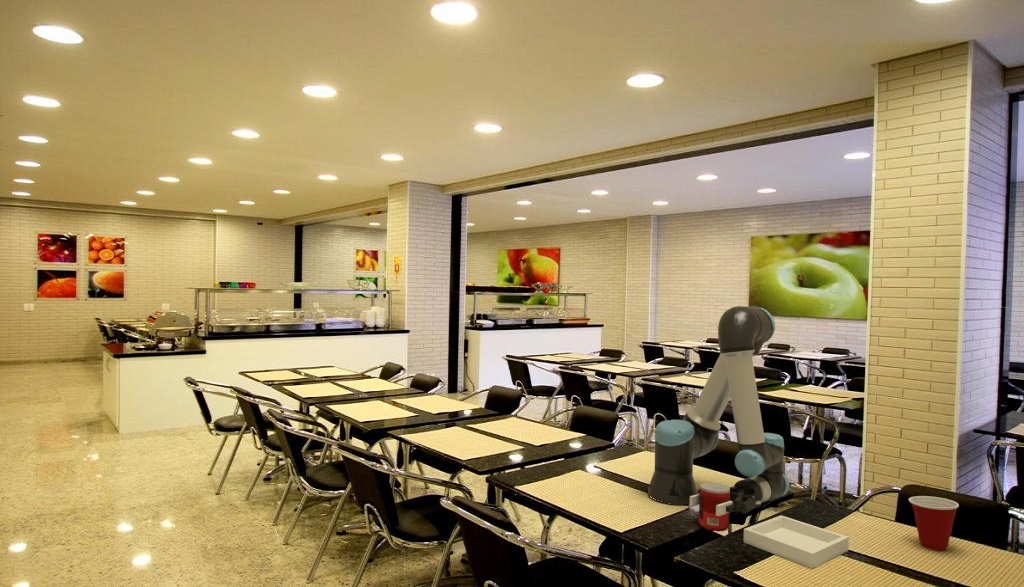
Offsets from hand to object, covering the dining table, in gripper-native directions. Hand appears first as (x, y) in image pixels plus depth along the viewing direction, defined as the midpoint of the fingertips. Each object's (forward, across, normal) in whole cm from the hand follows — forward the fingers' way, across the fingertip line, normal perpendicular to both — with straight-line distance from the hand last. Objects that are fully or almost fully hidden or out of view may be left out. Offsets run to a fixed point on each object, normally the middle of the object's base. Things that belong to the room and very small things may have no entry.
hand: (703, 506), depth 166 cm
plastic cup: (-42, -40, -7) cm, 58 cm away
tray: (-11, -20, -6) cm, 24 cm away
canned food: (-5, 0, -7) cm, 8 cm away
